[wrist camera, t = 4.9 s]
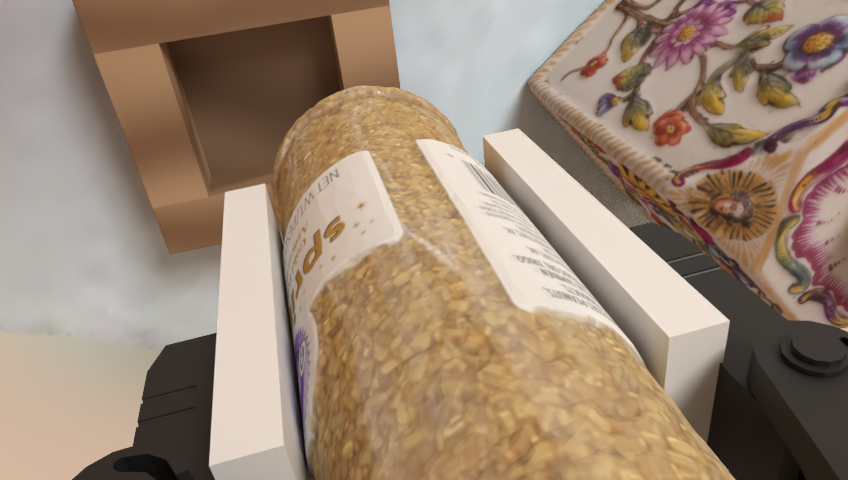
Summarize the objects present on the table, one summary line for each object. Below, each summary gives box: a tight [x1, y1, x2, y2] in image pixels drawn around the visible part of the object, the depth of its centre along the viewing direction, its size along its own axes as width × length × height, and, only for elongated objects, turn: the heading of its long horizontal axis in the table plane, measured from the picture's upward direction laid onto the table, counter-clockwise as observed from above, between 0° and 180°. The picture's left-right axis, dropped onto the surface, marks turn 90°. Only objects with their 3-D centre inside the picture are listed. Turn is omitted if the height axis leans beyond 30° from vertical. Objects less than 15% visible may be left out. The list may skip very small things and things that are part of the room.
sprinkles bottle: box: [271, 85, 736, 480], centre depth 9 cm, size 5×5×13 cm
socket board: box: [72, 0, 400, 254], centre depth 29 cm, size 12×12×3 cm
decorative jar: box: [528, 0, 848, 329], centre depth 27 cm, size 12×12×18 cm
